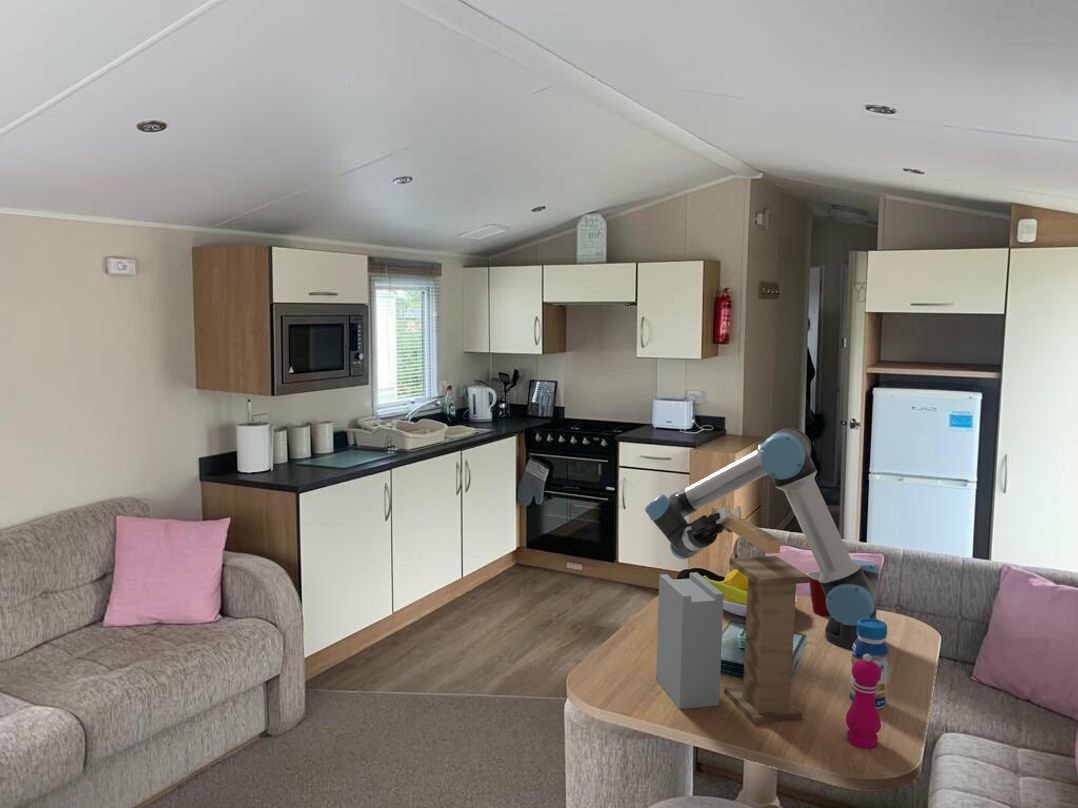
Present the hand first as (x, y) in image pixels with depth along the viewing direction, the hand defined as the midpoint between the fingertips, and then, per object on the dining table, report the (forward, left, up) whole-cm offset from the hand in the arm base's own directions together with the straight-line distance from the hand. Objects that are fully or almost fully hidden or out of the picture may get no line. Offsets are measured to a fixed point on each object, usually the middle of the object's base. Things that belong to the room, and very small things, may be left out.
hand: (732, 511), depth 222 cm
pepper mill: (-32, +27, -42) cm, 60 cm away
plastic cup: (-24, -53, -42) cm, 72 cm away
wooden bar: (-3, +5, -4) cm, 8 cm away
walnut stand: (-10, +17, -42) cm, 47 cm away
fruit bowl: (-2, -47, -43) cm, 63 cm away
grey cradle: (+8, +16, -42) cm, 46 cm away
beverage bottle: (-34, +7, -42) cm, 55 cm away
